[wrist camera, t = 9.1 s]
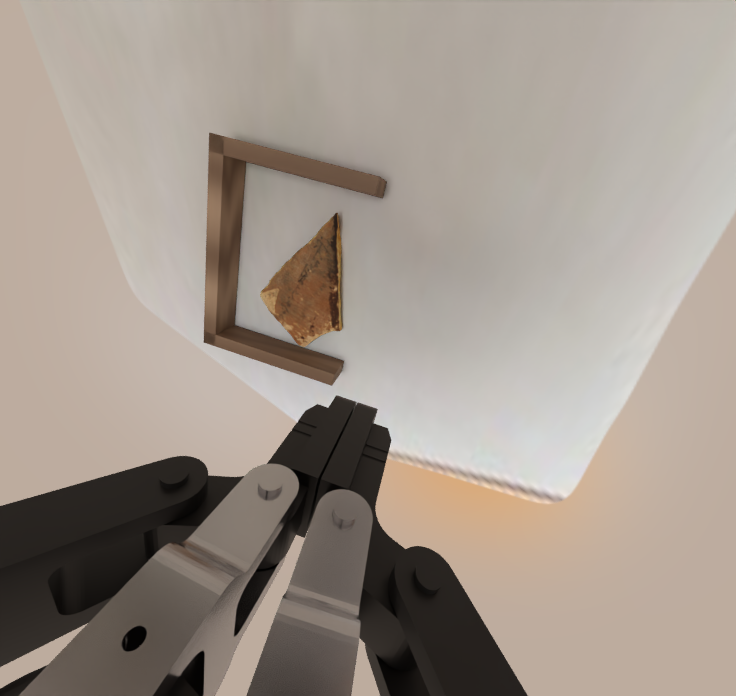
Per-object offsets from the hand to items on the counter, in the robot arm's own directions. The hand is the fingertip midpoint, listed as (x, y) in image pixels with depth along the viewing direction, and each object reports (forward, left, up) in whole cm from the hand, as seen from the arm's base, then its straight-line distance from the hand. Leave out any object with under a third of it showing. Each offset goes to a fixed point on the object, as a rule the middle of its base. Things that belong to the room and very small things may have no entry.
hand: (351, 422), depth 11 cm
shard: (+1, -10, -19) cm, 21 cm away
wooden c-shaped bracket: (0, -10, -18) cm, 21 cm away
